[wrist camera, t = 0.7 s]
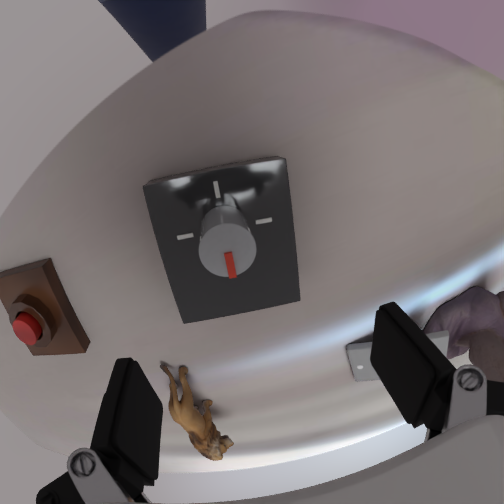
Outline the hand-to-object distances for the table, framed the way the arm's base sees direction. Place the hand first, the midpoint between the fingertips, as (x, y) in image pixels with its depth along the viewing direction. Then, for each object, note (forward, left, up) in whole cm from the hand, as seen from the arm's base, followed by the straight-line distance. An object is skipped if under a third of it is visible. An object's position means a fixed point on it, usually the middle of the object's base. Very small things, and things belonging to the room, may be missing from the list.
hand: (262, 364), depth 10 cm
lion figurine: (+24, -10, -19) cm, 32 cm away
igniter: (+6, -26, -19) cm, 32 cm away
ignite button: (+6, -26, -15) cm, 30 cm away
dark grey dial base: (+2, -1, -19) cm, 19 cm away
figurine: (+23, +35, -19) cm, 46 cm away
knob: (0, -1, -16) cm, 16 cm away
